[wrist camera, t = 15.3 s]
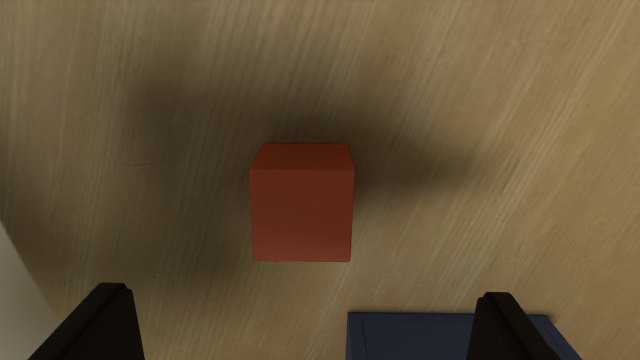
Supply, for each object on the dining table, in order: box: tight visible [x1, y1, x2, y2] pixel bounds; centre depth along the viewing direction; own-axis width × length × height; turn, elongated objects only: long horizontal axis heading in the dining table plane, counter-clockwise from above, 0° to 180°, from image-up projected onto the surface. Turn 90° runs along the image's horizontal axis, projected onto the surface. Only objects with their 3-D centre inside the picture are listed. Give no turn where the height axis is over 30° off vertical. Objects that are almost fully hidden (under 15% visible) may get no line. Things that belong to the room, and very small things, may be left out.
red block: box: [249, 143, 355, 262], centre depth 19 cm, size 4×4×4 cm
